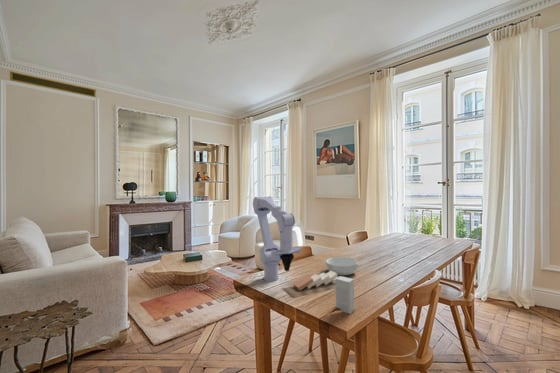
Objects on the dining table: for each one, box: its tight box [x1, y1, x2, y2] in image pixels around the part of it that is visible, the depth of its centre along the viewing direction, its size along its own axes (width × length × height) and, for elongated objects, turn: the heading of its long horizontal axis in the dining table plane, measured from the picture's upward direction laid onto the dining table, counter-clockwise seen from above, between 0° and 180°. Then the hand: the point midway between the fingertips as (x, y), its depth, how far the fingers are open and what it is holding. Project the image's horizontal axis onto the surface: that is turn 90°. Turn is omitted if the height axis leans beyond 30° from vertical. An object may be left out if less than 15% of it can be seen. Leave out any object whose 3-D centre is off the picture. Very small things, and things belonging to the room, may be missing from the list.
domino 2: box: [314, 272, 330, 287], centre depth 121 cm, size 2×5×8 cm
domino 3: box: [323, 270, 339, 285], centre depth 123 cm, size 2×5×8 cm
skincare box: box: [335, 275, 356, 315], centre depth 98 cm, size 6×4×12 cm
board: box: [282, 282, 336, 299], centre depth 117 cm, size 26×11×1 cm, turn 114°
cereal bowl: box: [325, 256, 359, 276], centre depth 138 cm, size 17×17×7 cm
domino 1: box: [306, 273, 322, 289], centre depth 119 cm, size 2×5×8 cm
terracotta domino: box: [293, 275, 314, 291], centre depth 118 cm, size 2×5×8 cm
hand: (286, 270), depth 115 cm, fingers closed
